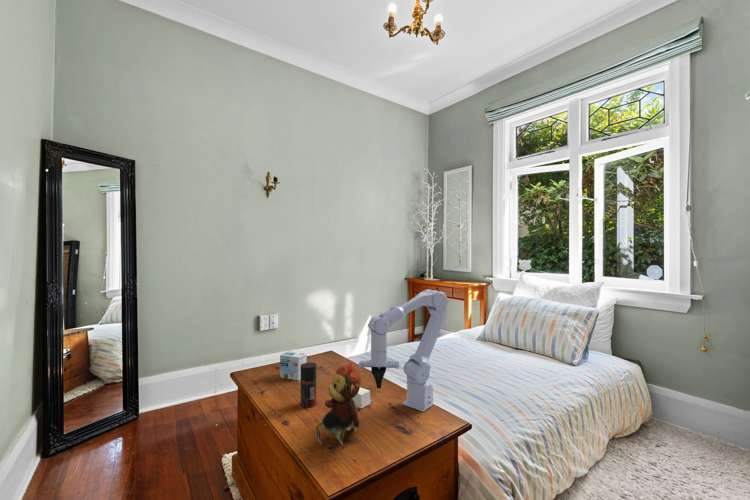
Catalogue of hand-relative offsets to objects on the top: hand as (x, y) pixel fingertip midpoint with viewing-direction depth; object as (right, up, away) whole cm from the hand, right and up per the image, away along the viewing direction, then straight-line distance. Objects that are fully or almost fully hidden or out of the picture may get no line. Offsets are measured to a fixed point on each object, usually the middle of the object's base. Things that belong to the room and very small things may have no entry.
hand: (379, 387), depth 124 cm
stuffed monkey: (-12, -9, -18) cm, 24 cm away
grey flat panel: (-11, -9, +9) cm, 17 cm away
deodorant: (-27, -9, +7) cm, 29 cm away
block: (-5, -6, +4) cm, 9 cm away
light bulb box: (-40, -10, +35) cm, 54 cm away
